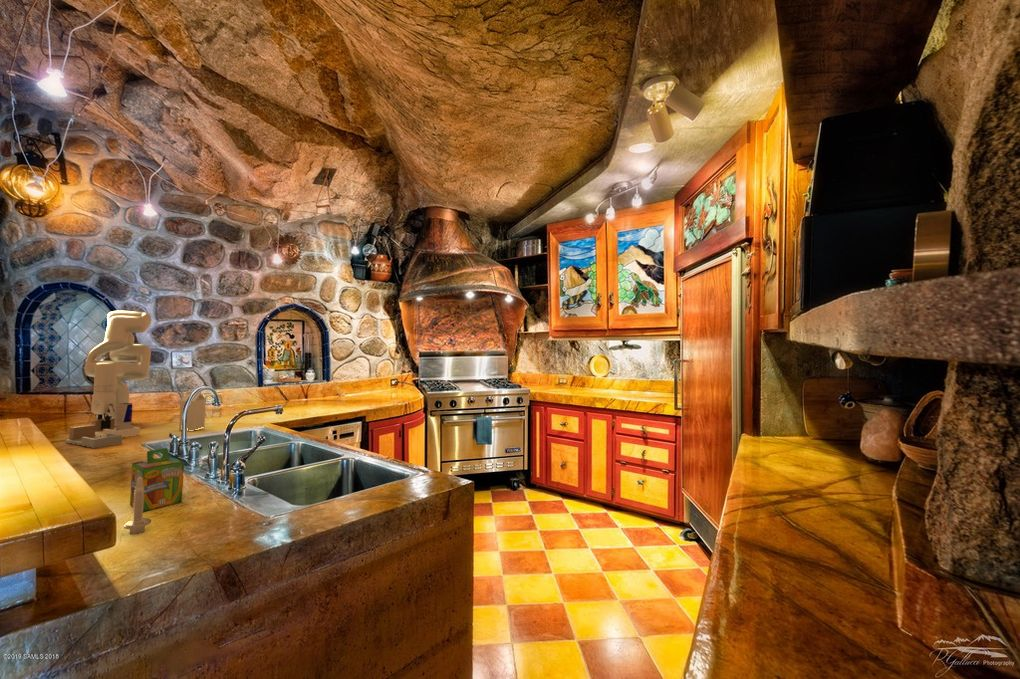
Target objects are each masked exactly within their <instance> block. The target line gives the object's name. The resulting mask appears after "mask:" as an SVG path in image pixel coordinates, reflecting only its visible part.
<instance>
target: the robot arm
mask: <svg viewBox="0 0 1020 679" xmlns="http://www.w3.org/2000/svg"><path fill="white" fill-rule="evenodd" d="M106 316H107V317H106V319H107V324H106V325H107V326H106V329H105V330H106V331H105V334H104V340H103V342H100V343H99V344H98V345H96V346H95V347H94V348H93V349H91V350H90V351H89V353H88V355H87V357H86V361H85V365H84V373H85V376H88V377H91V378H92V377H93V378H94V379H93V394H92V398H91V404H90V412H91V413H92V414H94V415H95V420H98V419H103V421H101V429H102V430H103V429H110V426H111V418H115V427H116V416H117V404H120V403H130V387H129V386H128V385H127V384H126V383H125V382H127V381H128V382H131V381H137V382H138V381H140V382H141V381H144V380H147V378H148V376H149V372H150V371H149V370H150V364H151V357H152V353H151V352H152V350H151V348H150V346H149V345H147V344H143V343H135V335H134V334H133V333H135V334H137V333H138V334H143V333H145V332H147V330H148V328H149V327H150V325H151V324H152V316H151V314H150V313H149V312H147V311H145V312H144V311H132V310H131V311H130V310H113V311H110V312H108V313H107V315H106ZM107 353H109V358H110V360H98V358H99V357H101V356H103V355H105V354H107Z"/></svg>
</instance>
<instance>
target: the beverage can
mask: <svg viewBox="0 0 1020 679" xmlns="http://www.w3.org/2000/svg"><path fill="white" fill-rule="evenodd" d="M132 424H133V402H129V403H120V404H117V416H116V426H115V428H116V431H117V430H124V429H130V428H131V426H132Z"/></svg>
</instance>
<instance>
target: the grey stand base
mask: <svg viewBox="0 0 1020 679" xmlns="http://www.w3.org/2000/svg"><path fill="white" fill-rule="evenodd" d="M68 432H69V434H68V439H65V442H66V443H65V444H70V443H72V444H71V445H75V444H77V445H76V446H79V445H82V446H81V447H84V446H87V447H86V448H89V447H91V449H96V448H95V447H98V448H103V447H102V446H104V447H109V446H108V445H110V446H114V444H116V445H120V443H121V444H122V443H123V442H122V441H123V438H122V435H118V434H113V433H107V437H100V436H95V425H92V424H86V425H78V426H69V431H68Z"/></svg>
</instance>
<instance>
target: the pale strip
mask: <svg viewBox="0 0 1020 679" xmlns="http://www.w3.org/2000/svg"><path fill="white" fill-rule="evenodd" d="M101 421H103V419H98V420H96V419H92V420H91V425H95V435H96V436H101V437H107V433H113V434H118V435H122V439H123V437H125V438H129V436H131V437H136V435H137V436H140V431H141V430H140V429H141V427H139V426H134V425H133V426H132V425H131V428H130V429H124V430H117V431H116V426H115V418H111V426H110V429H103V430H102V429H101Z"/></svg>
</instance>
